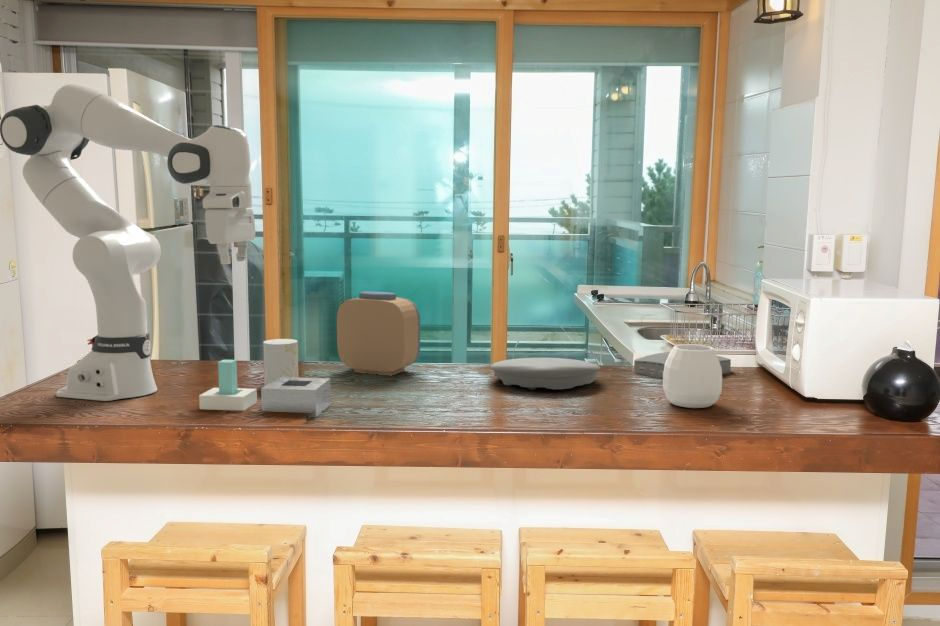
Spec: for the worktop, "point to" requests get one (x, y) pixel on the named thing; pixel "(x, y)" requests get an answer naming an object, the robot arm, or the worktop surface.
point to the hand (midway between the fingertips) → (233, 262)
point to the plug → (227, 377)
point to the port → (297, 395)
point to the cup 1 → (280, 359)
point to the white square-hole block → (228, 400)
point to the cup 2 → (692, 376)
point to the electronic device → (656, 363)
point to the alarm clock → (378, 333)
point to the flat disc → (545, 372)
